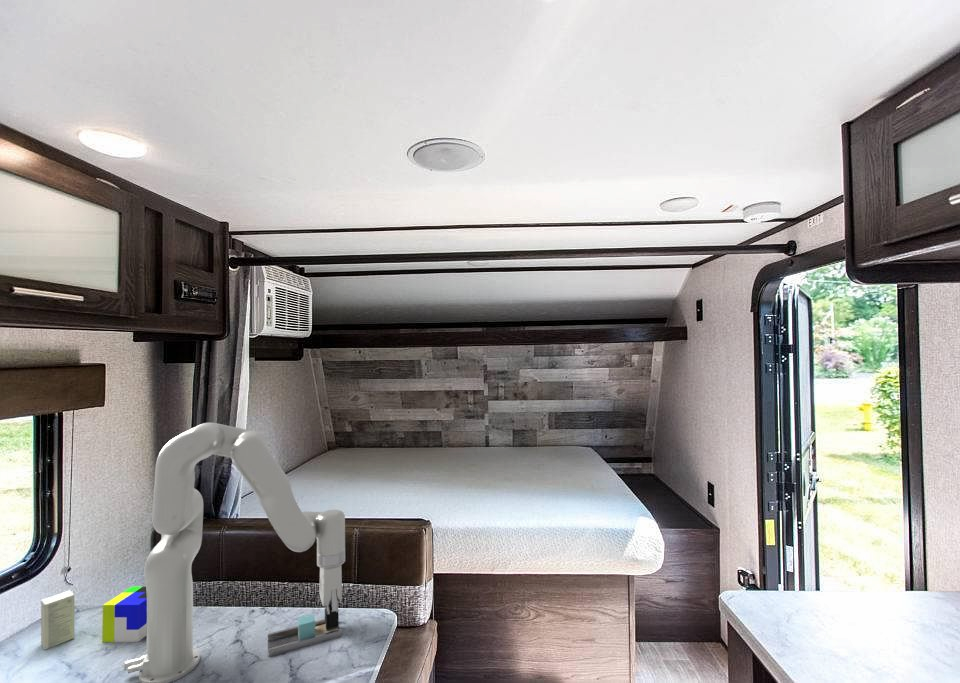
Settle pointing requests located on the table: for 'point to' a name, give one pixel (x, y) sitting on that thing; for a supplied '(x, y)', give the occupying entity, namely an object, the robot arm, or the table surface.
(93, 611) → the table surface
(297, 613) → the table surface
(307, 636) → the cube
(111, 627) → the puzzle toy
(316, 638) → the board
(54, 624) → the skincare box
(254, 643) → the table surface
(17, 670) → the table surface
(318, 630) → the cream sled with handle
